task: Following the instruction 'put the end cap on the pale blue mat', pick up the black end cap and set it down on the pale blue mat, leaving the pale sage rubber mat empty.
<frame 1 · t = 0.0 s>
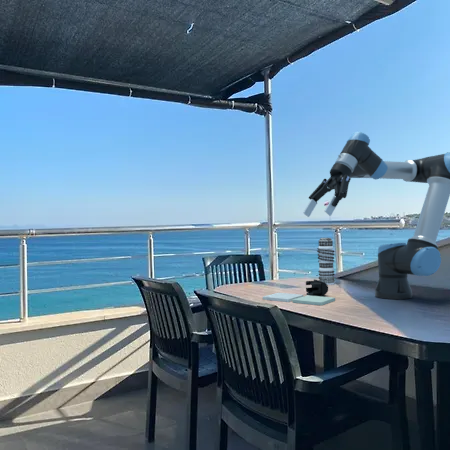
hand: (316, 214, 154), 36 cm above the table, tool tilted 35°, fingers open, 13 cm apart
pale blue mat: (283, 298, 186), on the table
sage mat: (313, 301, 177), on the table
end cap: (316, 295, 193), on the table
decorative candle: (326, 284, 230), on the table
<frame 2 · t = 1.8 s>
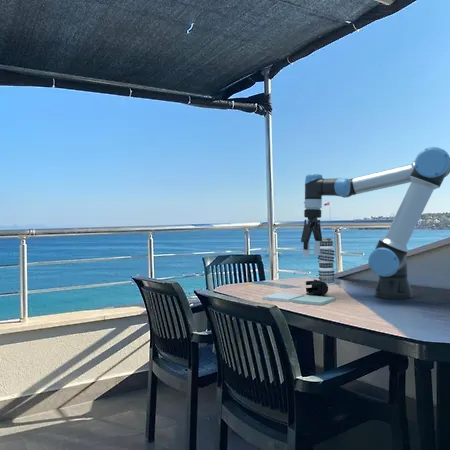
hand: (311, 256, 190), 18 cm above the table, tool pointing down, fingers open, 13 cm apart
nothing on the table moved.
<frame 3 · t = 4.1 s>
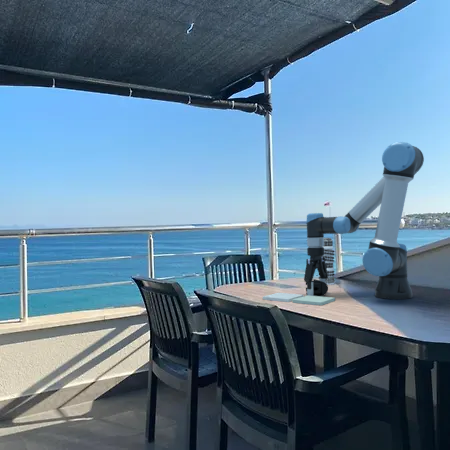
hand: (316, 294, 193), 0 cm above the table, tool pointing down, fingers closed on end cap, 11 cm apart
end cap: (316, 295, 193), on the table, touching gripper
everything else where it was.
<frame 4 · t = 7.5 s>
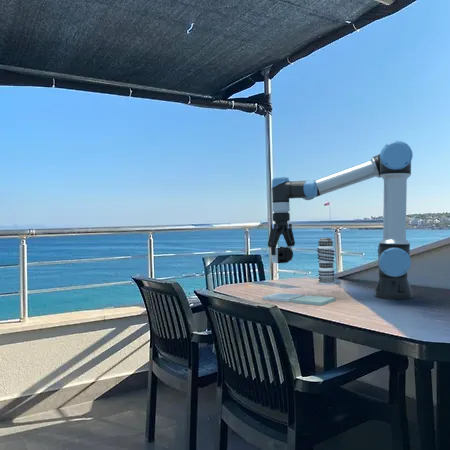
hand: (282, 261, 187), 16 cm above the table, tool pointing down, fingers closed on end cap, 11 cm apart
end cap: (282, 262, 186), point 16 cm above the table, touching gripper
everything else where it was.
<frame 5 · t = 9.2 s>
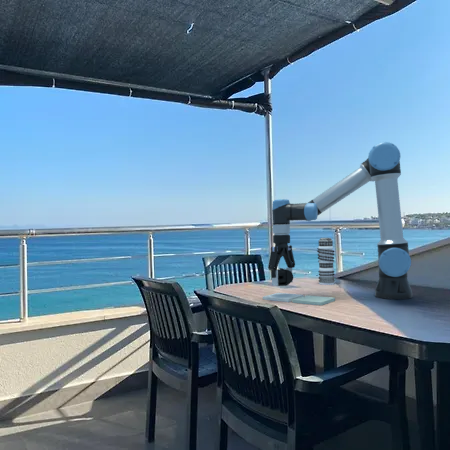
hand: (282, 283, 186), 6 cm above the table, tool pointing down, fingers closed on end cap, 11 cm apart
end cap: (282, 284, 186), point 6 cm above the table, touching gripper
everything else where it was.
when the fingers open (4 cm above the table, at t = 10.9 s): end cap drops 2 cm, resting on pale blue mat.
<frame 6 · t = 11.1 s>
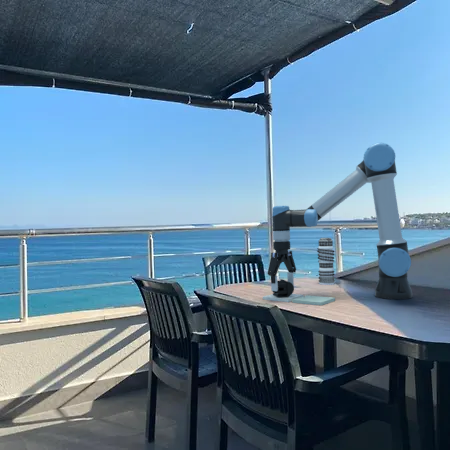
hand: (282, 289, 186), 4 cm above the table, tool pointing down, fingers open, 13 cm apart
end cap: (283, 296, 186), point 1 cm above the table, touching pale blue mat
everything else where it was.
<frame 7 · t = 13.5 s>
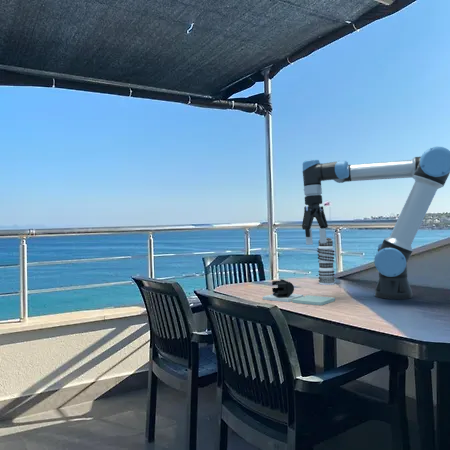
hand: (316, 243, 185), 24 cm above the table, tool pointing down, fingers open, 13 cm apart
nothing on the table moved.
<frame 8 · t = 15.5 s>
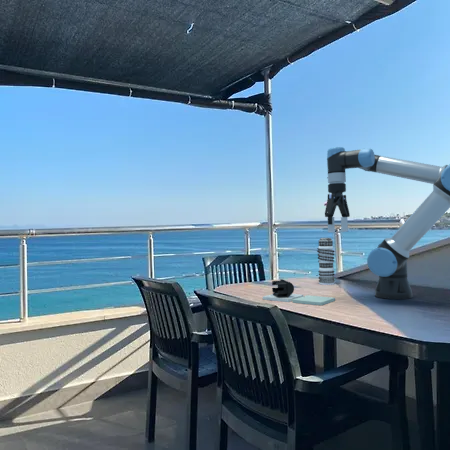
hand: (338, 232, 184), 29 cm above the table, tool pointing down, fingers open, 13 cm apart
nothing on the table moved.
at the end: end cap inside the target area on the pale blue mat (0.1 cm from its centre), point 1.0 cm above the pale blue mat's base; end cap tilted 0°; end cap touching pale blue mat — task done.
